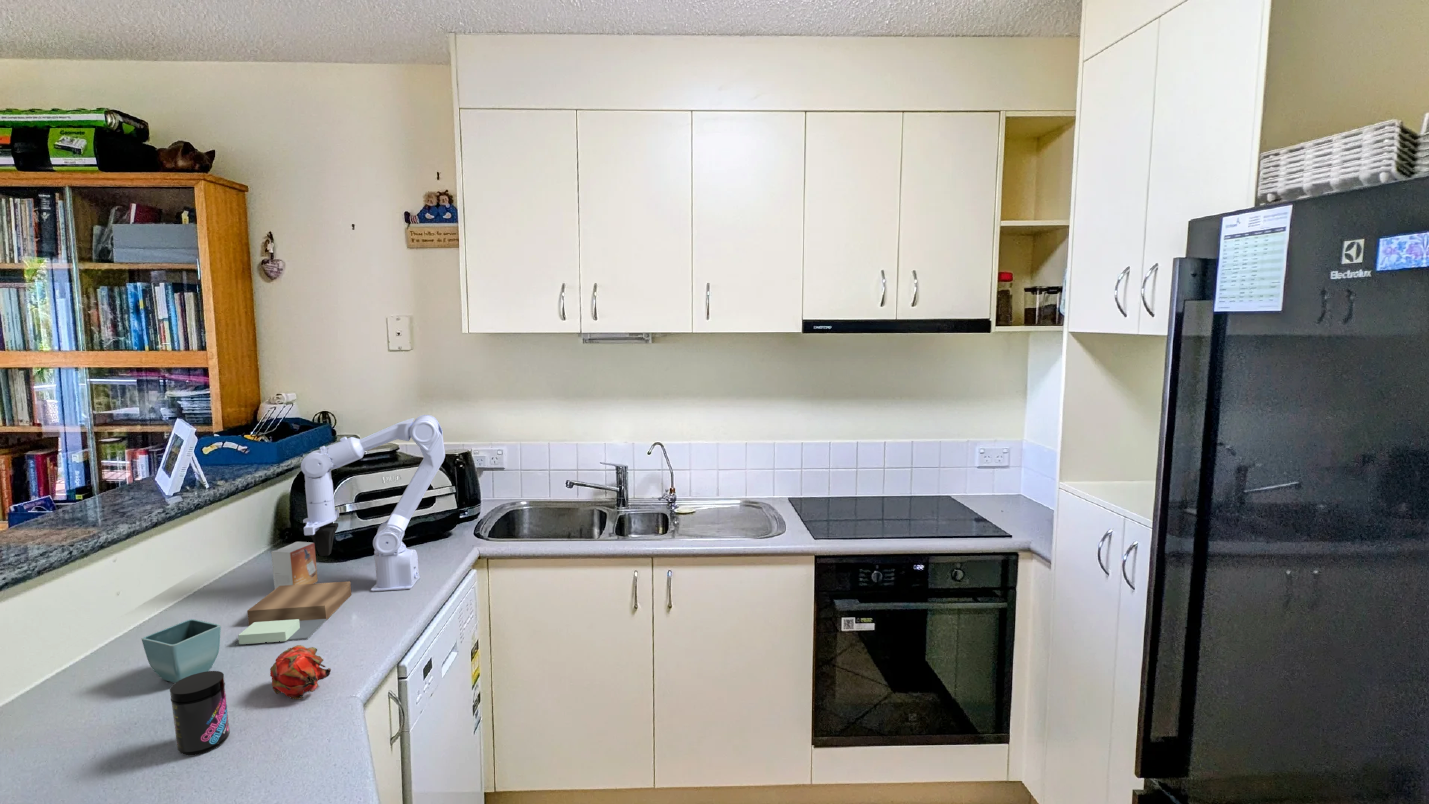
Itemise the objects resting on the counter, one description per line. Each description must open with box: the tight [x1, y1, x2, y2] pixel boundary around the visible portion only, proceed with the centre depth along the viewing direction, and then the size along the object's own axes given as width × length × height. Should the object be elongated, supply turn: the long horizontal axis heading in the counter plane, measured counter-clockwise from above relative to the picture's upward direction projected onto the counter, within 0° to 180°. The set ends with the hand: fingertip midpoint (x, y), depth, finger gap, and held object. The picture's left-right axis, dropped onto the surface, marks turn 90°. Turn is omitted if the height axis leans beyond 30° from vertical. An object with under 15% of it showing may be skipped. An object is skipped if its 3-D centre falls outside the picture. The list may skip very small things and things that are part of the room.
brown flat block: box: [246, 580, 352, 627], centre depth 154 cm, size 16×14×4 cm
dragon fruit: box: [269, 644, 332, 700], centre depth 119 cm, size 8×8×12 cm
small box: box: [270, 541, 319, 590], centre depth 167 cm, size 8×6×10 cm
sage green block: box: [238, 619, 300, 645], centre depth 140 cm, size 9×6×2 cm, turn 98°
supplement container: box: [169, 670, 231, 756], centre depth 104 cm, size 7×7×10 cm
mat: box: [234, 619, 327, 646], centre depth 143 cm, size 14×9×1 cm, turn 98°
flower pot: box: [141, 618, 222, 684], centre depth 125 cm, size 9×9×9 cm
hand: (325, 554), depth 162 cm, fingers closed
